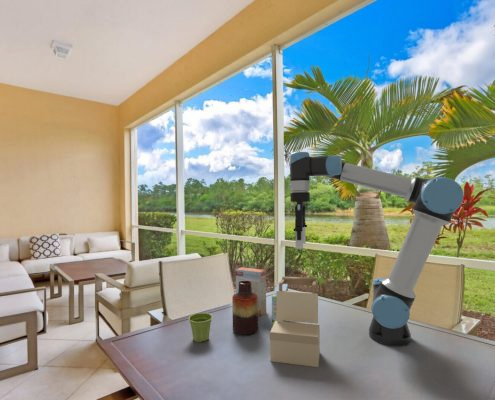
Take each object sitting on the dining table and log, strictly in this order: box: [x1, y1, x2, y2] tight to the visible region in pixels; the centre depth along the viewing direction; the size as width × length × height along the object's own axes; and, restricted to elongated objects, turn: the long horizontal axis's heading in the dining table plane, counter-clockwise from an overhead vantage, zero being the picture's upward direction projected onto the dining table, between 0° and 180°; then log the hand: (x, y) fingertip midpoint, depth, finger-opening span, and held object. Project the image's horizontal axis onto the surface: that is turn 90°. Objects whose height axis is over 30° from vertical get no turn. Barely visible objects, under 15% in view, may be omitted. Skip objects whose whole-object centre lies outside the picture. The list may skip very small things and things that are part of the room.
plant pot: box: [188, 312, 214, 343], centre depth 126 cm, size 9×9×9 cm
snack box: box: [271, 283, 289, 328], centre depth 141 cm, size 21×6×15 cm, turn 168°
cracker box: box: [235, 266, 267, 317], centre depth 155 cm, size 14×6×21 cm, turn 58°
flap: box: [276, 276, 319, 325], centre depth 120 cm, size 15×14×9 cm
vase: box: [231, 281, 259, 337], centre depth 134 cm, size 11×11×20 cm
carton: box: [269, 321, 321, 368], centre depth 111 cm, size 16×10×10 cm, turn 75°
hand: (300, 245), depth 125 cm, fingers open, 13 cm apart
